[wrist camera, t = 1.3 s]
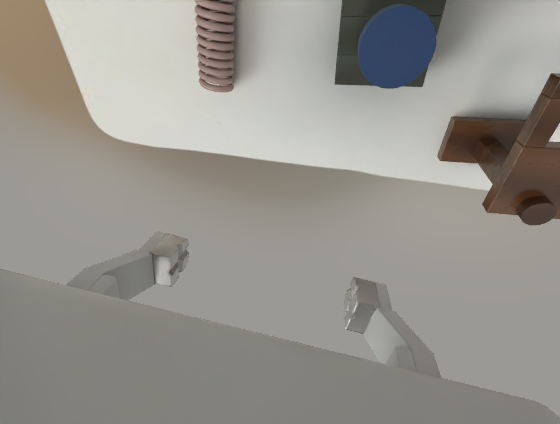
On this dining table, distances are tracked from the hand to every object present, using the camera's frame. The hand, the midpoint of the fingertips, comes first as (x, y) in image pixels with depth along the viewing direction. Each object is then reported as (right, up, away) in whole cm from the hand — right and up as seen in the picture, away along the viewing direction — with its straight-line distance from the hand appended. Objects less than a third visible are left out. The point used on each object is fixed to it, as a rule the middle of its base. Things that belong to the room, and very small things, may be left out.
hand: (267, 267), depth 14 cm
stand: (+29, +16, +24) cm, 41 cm away
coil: (-7, +28, +23) cm, 37 cm away
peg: (+13, +25, +21) cm, 34 cm away
